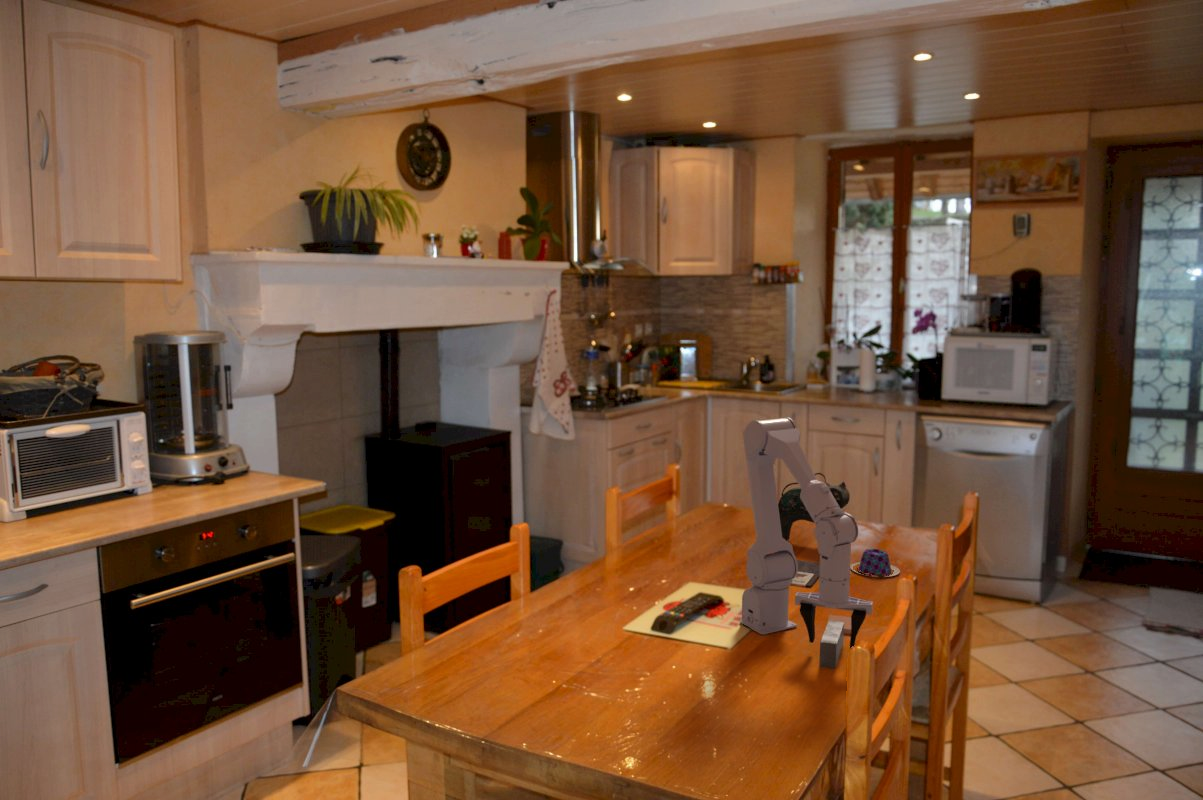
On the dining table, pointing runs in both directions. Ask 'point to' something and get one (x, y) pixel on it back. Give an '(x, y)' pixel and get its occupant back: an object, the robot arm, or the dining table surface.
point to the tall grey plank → (831, 644)
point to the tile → (842, 619)
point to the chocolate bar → (806, 574)
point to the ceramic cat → (796, 510)
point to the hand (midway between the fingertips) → (832, 643)
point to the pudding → (876, 563)
